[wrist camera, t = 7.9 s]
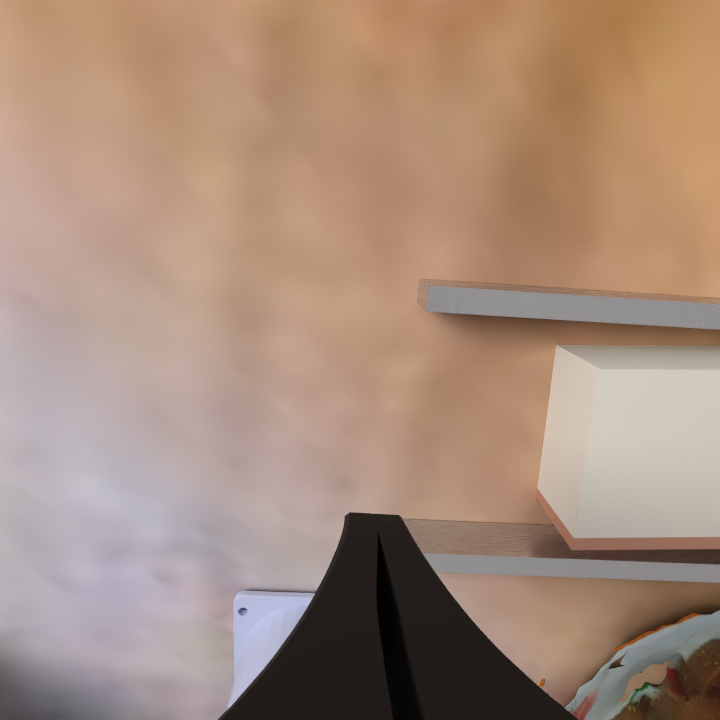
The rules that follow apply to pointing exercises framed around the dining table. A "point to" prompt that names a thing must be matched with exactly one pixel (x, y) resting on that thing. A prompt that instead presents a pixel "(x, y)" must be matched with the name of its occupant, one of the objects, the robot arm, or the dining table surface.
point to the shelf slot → (544, 542)
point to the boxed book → (633, 447)
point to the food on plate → (678, 690)
